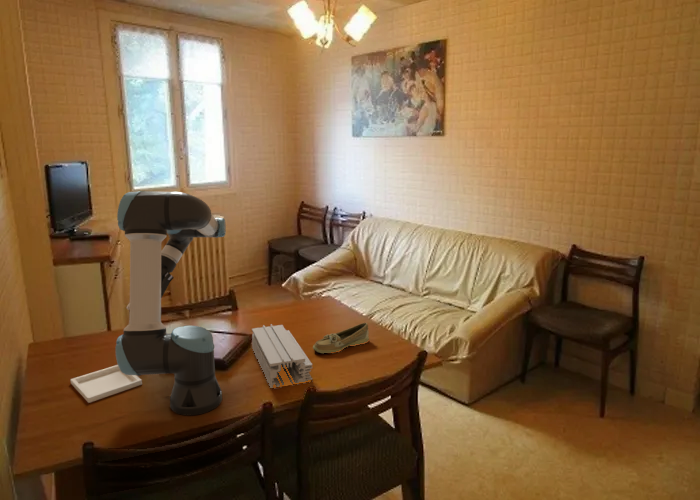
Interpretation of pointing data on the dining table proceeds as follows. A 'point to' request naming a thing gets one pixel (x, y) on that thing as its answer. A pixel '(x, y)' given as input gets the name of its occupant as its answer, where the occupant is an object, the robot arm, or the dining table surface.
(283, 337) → the aluminum extrusion profile
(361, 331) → the boat shoe
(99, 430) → the dining table surface
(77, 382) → the tray
